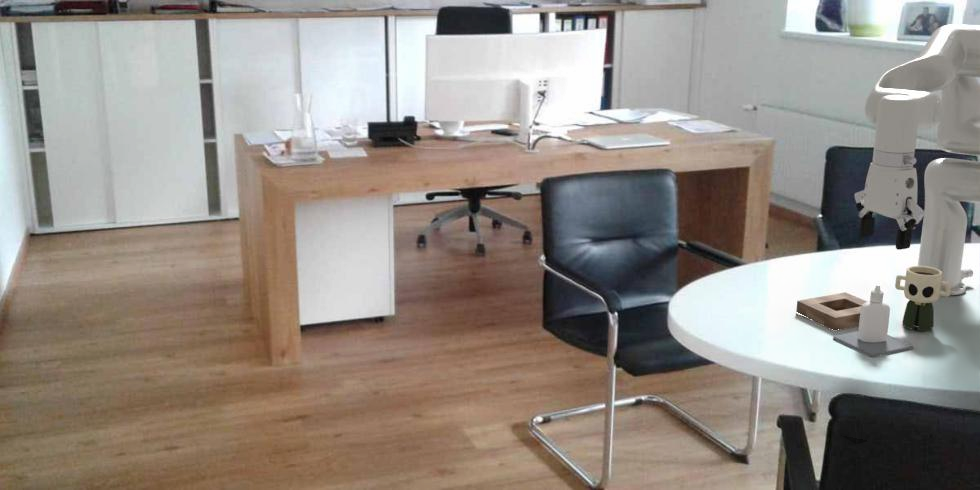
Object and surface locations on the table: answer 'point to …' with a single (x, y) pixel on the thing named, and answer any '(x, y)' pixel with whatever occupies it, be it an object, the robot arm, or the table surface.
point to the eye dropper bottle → (874, 318)
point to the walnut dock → (833, 310)
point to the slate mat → (873, 344)
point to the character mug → (921, 295)
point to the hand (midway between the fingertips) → (884, 242)
